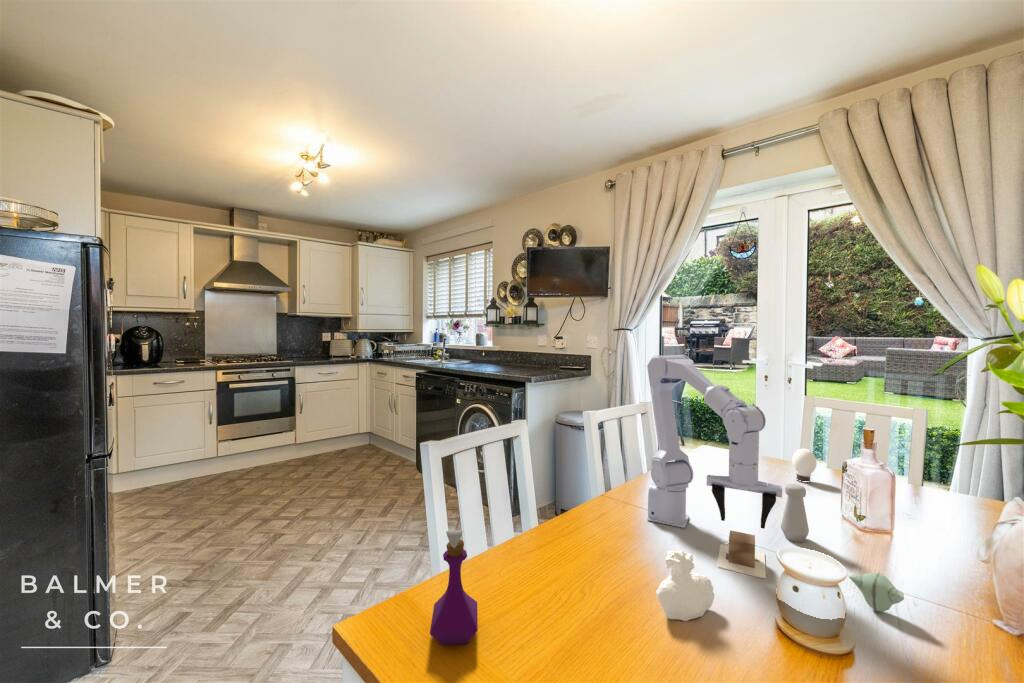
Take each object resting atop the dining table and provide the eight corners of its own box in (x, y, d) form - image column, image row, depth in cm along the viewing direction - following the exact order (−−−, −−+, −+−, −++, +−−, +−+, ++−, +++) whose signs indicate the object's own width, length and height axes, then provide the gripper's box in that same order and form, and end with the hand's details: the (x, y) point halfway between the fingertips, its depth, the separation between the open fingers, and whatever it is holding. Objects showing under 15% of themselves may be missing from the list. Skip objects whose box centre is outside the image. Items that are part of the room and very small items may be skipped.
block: (728, 562, 95) (728, 539, 95) (729, 551, 99) (729, 530, 99) (754, 568, 92) (755, 545, 92) (754, 557, 97) (755, 535, 97)
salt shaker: (813, 545, 103) (814, 490, 102) (786, 542, 104) (787, 489, 104) (802, 533, 108) (803, 482, 108) (776, 531, 110) (777, 480, 109)
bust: (707, 613, 82) (681, 549, 88) (734, 608, 76) (704, 539, 82) (655, 628, 77) (631, 560, 83) (679, 624, 72) (652, 551, 78)
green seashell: (846, 602, 81) (847, 567, 81) (855, 595, 83) (856, 560, 83) (902, 627, 75) (903, 588, 74) (909, 618, 77) (911, 581, 77)
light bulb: (787, 478, 149) (787, 446, 149) (805, 477, 150) (806, 445, 149) (802, 485, 142) (803, 451, 142) (821, 484, 143) (822, 451, 143)
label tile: (717, 567, 93) (717, 566, 93) (720, 544, 103) (720, 543, 103) (765, 578, 89) (765, 577, 89) (764, 554, 98) (764, 553, 98)
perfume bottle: (434, 622, 76) (434, 520, 75) (477, 619, 76) (477, 518, 76) (429, 654, 68) (429, 541, 68) (477, 651, 69) (477, 539, 68)
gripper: (705, 461, 95) (704, 522, 96) (783, 472, 88) (782, 538, 89) (708, 453, 101) (707, 510, 102) (781, 462, 94) (780, 524, 95)
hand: (742, 522), depth 96 cm, fingers open, 7 cm apart
